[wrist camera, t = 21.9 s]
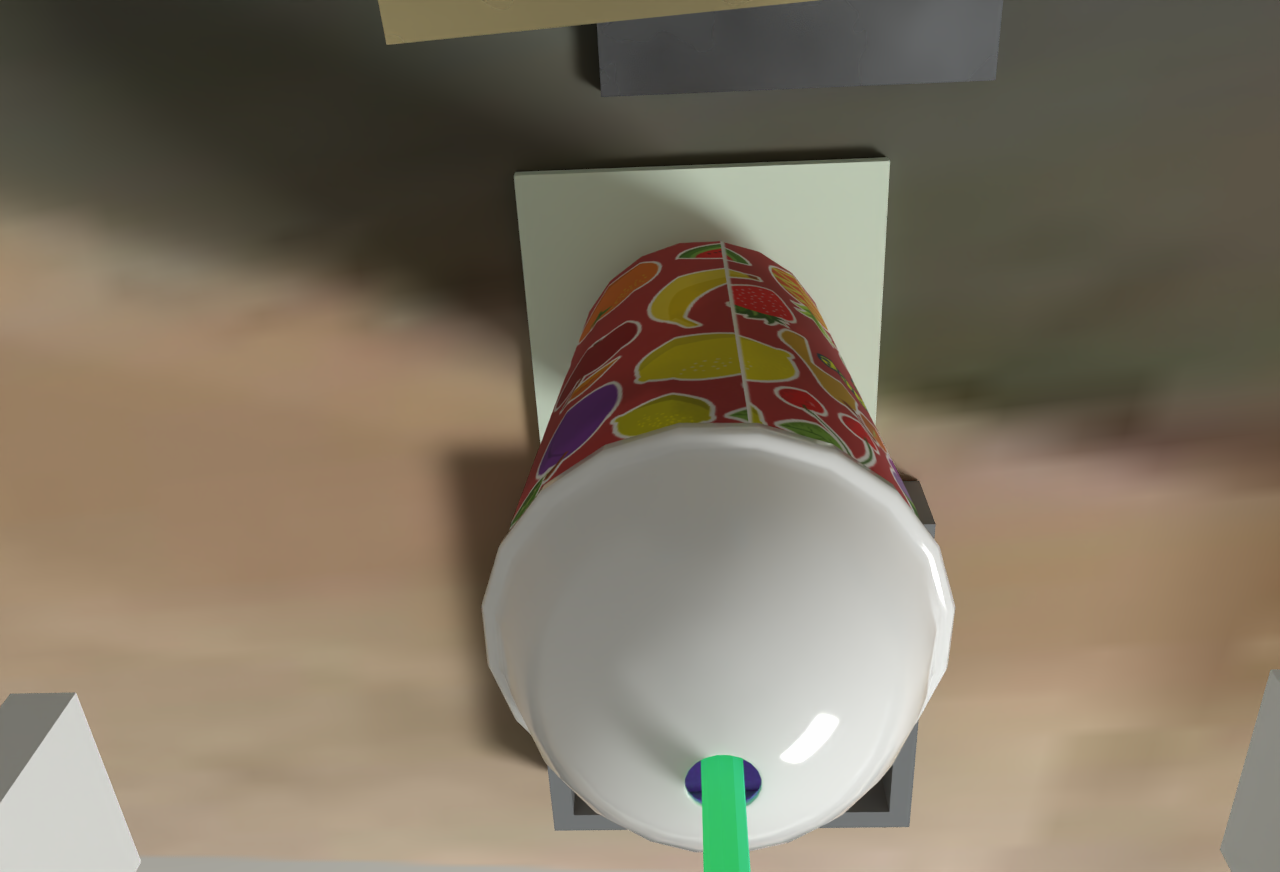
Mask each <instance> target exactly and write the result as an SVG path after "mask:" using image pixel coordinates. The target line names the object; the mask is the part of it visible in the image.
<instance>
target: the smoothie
mask: <svg viewBox="0 0 1280 872" xmlns="http://www.w3.org/2000/svg"><path fill="white" fill-rule="evenodd" d="M481 607H482V616H483V625H484V635H485V644H486V653H487V662H488V666H489V668H490V670H491V672H492V674H493V676H494V678H495V680H496V682H497V684H498V686H499V688H500V690H501V692H502V694H503V696H504V698H505V700H506V702H507V704H508V706H509V708H510V710H511V712H512V714H513V716H514V718H515V719H516V721H517V722H518V723H519V724H520V725H522V726H523V727H524V728H525V729H526V730H527V731H528V732H529V733H530V734H531V735H532V737H533V739H534V741H535V743H536V745H537V747H538V749H539V751H540V753H541V755H542V757H543V759H544V761H545V763H546V764H547V765H548V766H549V767H550V768H551V769H552V770H553V771H554V772H555V773H556V775H557V776H558V777H559V778H560V779H561V780H562V781H563V782H564V783H565V784H566V785H567V786H569V787H570V788H571V789H572V790H573V791H574V792H575V793H576V794H577V795H578V796H579V797H580V798H581V799H582V800H583V801H584V802H585V803H586V804H587V805H588V806H589V807H590V808H591V809H592V810H593V811H595V812H596V813H598V814H599V815H601V816H603V817H605V818H607V819H609V820H611V821H613V822H614V823H616V824H618V825H620V826H622V827H624V828H626V829H628V830H629V831H631V832H633V833H635V834H637V835H639V836H641V837H643V838H645V839H647V840H649V841H651V842H655V843H659V844H664V845H668V846H672V847H676V848H680V849H684V850H689V851H693V852H703V861H704V872H750V857H749V851H753V850H757V849H762V848H766V847H771V846H775V845H780V844H784V843H788V842H790V841H792V840H794V839H797V838H799V837H801V836H803V835H805V834H807V833H809V832H811V831H813V830H815V829H817V828H819V827H821V826H823V825H825V824H827V823H829V822H831V821H832V820H834V819H836V818H838V817H840V816H841V815H843V814H844V813H845V812H846V811H847V810H848V809H849V808H851V807H852V806H853V805H854V804H855V803H856V802H857V801H858V800H859V799H860V798H861V797H862V796H864V795H865V794H866V793H867V792H868V791H869V790H870V789H871V788H872V787H873V786H874V785H876V784H877V783H878V782H879V781H880V779H881V778H882V777H883V776H884V775H885V773H886V772H887V771H888V770H889V768H890V767H891V766H892V765H893V763H894V761H895V759H896V758H897V756H898V754H899V752H900V750H901V749H902V747H903V745H904V743H905V741H906V740H907V738H908V736H909V734H910V732H911V731H912V729H913V727H914V725H915V724H916V723H917V721H918V719H919V718H920V716H921V714H922V712H923V710H924V709H925V707H926V705H927V703H928V701H929V700H930V698H931V696H932V694H933V692H934V691H935V689H936V687H937V685H938V683H939V682H940V680H941V678H942V676H943V674H944V673H945V671H946V669H947V667H948V660H949V653H950V645H951V637H952V629H953V622H954V614H955V604H954V600H953V596H952V592H951V588H950V585H949V581H948V577H947V573H946V569H945V566H944V562H943V558H942V554H941V550H940V547H939V545H938V544H937V542H936V541H935V540H934V538H933V537H932V536H931V534H930V533H929V532H928V530H927V529H926V528H925V526H924V525H923V524H922V522H921V521H920V518H919V516H918V513H917V510H916V508H915V506H914V504H913V502H912V500H911V498H910V496H909V494H908V492H907V490H906V488H905V486H904V484H903V482H902V480H901V478H900V476H899V474H898V472H897V470H896V468H895V465H894V463H893V461H892V459H891V457H890V455H889V453H888V451H887V449H886V447H885V445H884V443H883V441H882V439H881V437H880V435H879V433H878V431H877V429H876V427H875V425H874V423H873V420H872V418H871V416H870V414H869V412H868V410H867V408H866V406H865V404H864V402H863V400H862V398H861V396H860V394H859V392H858V390H857V388H856V386H855V384H854V382H853V380H852V378H851V375H850V373H849V371H848V369H847V367H846V365H845V363H844V361H843V359H842V357H841V355H840V353H839V351H838V349H837V347H836V345H835V343H834V341H833V339H832V337H831V335H830V333H829V331H828V328H827V326H826V324H825V322H824V320H823V318H822V316H821V314H820V312H819V310H818V308H817V306H816V303H815V302H814V300H813V299H812V298H811V297H810V295H809V294H808V293H807V291H806V290H805V289H804V288H803V286H802V285H801V284H800V282H799V281H798V280H797V279H796V277H795V276H794V275H793V273H791V272H790V271H788V270H787V269H785V268H784V267H782V266H780V265H779V264H777V263H776V262H774V261H773V260H771V259H770V258H768V257H767V256H765V255H763V254H762V253H760V252H758V251H754V250H751V249H747V248H743V247H740V246H736V245H732V244H729V243H725V242H721V241H713V242H691V243H678V244H675V245H673V246H670V247H667V248H664V249H661V250H658V251H656V252H653V253H650V254H647V255H644V256H642V257H640V258H639V259H638V260H636V261H635V262H634V263H632V264H631V265H630V266H629V267H627V268H626V269H625V270H623V271H622V272H621V273H620V274H618V275H617V276H616V277H614V278H613V279H612V280H611V281H610V282H609V283H608V285H607V286H606V288H605V289H604V291H603V292H602V294H601V295H600V297H599V298H598V300H597V301H596V303H595V304H594V305H593V307H592V308H591V310H590V311H589V314H588V317H587V320H586V323H585V325H584V328H583V331H582V334H581V336H580V339H579V342H578V344H577V347H576V350H575V352H574V355H573V358H572V360H571V363H570V366H569V369H568V371H567V374H566V377H565V379H564V382H563V385H562V387H561V390H560V393H559V396H558V398H557V401H556V404H555V406H554V409H553V412H552V414H551V417H550V420H549V422H548V425H547V428H546V431H545V433H544V436H543V439H542V441H541V444H540V447H539V449H538V452H537V455H536V457H535V460H534V463H533V466H532V468H531V471H530V474H529V476H528V479H527V482H526V484H525V487H524V490H523V492H522V495H521V498H520V501H519V503H518V506H517V509H516V511H515V514H514V517H513V519H512V522H511V526H510V530H509V532H508V533H507V534H506V536H505V537H504V539H503V541H502V542H501V544H500V546H499V548H498V552H497V555H496V558H495V562H494V565H493V569H492V572H491V575H490V579H489V582H488V585H487V589H486V592H485V595H484V599H483V602H482V606H481Z"/></svg>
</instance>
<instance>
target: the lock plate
mask: <svg viewBox="0 0 1280 872" xmlns="http://www.w3.org/2000/svg"><path fill="white" fill-rule="evenodd" d="M1002 5H1003V0H817V1H807V2H798V3H788V4H778V5H768V6H759V7H749V8H739V9H730V10H720V11H710V12H701V13H691V14H681V15H672V16H662V17H652V18H642V19H633V20H623V21H613V22H604V23H597V34H598V50H599V66H600V83H601V97H609V96H633V95H656V94H680V93H703V92H727V91H750V90H774V89H797V88H821V87H844V86H868V85H891V84H915V83H938V82H962V81H985V80H995V79H996V68H997V58H998V47H999V37H1000V26H1001V16H1002Z"/></svg>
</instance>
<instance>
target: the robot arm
mask: <svg viewBox="0 0 1280 872" xmlns="http://www.w3.org/2000/svg"><path fill="white" fill-rule="evenodd" d="M1220 851H1221V853H1222V854H1223V856H1224V858H1225V860H1226V862H1227V864H1228V866H1229V868H1230V870H1231V872H1280V670H1270V674H1269V678H1268V681H1267V685H1266V688H1265V692H1264V695H1263V699H1262V702H1261V706H1260V710H1259V713H1258V717H1257V720H1256V724H1255V727H1254V731H1253V734H1252V738H1251V742H1250V745H1249V749H1248V752H1247V756H1246V759H1245V763H1244V766H1243V770H1242V773H1241V777H1240V781H1239V784H1238V788H1237V791H1236V795H1235V798H1234V802H1233V805H1232V809H1231V813H1230V816H1229V820H1228V823H1227V827H1226V830H1225V834H1224V837H1223V841H1222V845H1221V848H1220ZM140 863H141V860H140V857H139V855H138V852H137V850H136V847H135V844H134V842H133V839H132V837H131V834H130V831H129V829H128V826H127V824H126V821H125V818H124V816H123V813H122V811H121V808H120V806H119V803H118V800H117V798H116V795H115V793H114V790H113V787H112V785H111V782H110V780H109V777H108V774H107V772H106V769H105V767H104V764H103V761H102V759H101V756H100V754H99V751H98V748H97V746H96V743H95V741H94V738H93V736H92V733H91V730H90V728H89V725H88V723H87V720H86V717H85V715H84V712H83V710H82V707H81V704H80V702H79V699H78V697H77V694H76V693H27V694H10V695H9V696H8V697H7V699H6V700H5V701H4V703H3V704H2V705H1V707H0V872H136V870H137V868H138V866H139V864H140Z"/></svg>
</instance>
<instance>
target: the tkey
mask: <svg viewBox="0 0 1280 872" xmlns="http://www.w3.org/2000/svg"><path fill="white" fill-rule="evenodd" d="M807 1H817V0H378V3H379V8H380V13H381V18H382V23H383V29H384V34H385V39H386V44H387V45H390V44H400V43H410V42H419V41H429V40H439V39H448V38H458V37H468V36H478V35H487V34H497V33H507V32H516V31H526V30H536V29H545V28H555V27H565V26H575V25H584V24H594V23H604V22H613V21H623V20H633V19H642V18H652V17H662V16H672V15H681V14H691V13H701V12H710V11H720V10H730V9H739V8H749V7H759V6H768V5H778V4H788V3H798V2H807Z"/></svg>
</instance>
